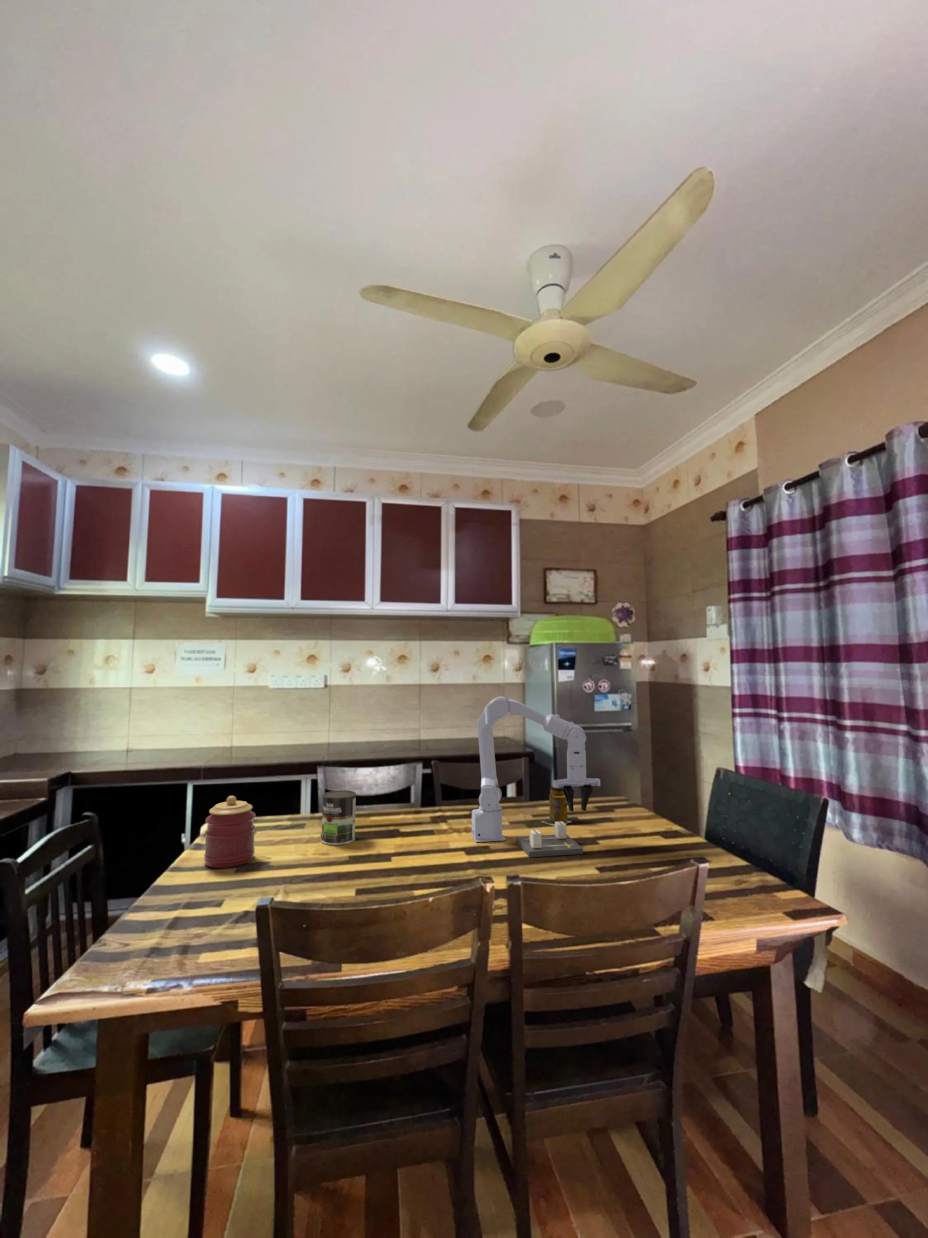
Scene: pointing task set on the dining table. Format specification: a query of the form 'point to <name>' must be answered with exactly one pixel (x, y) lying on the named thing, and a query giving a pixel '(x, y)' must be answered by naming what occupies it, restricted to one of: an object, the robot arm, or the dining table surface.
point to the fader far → (560, 830)
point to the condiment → (557, 806)
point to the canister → (229, 834)
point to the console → (550, 846)
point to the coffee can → (338, 817)
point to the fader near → (535, 839)
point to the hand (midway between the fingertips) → (577, 810)
